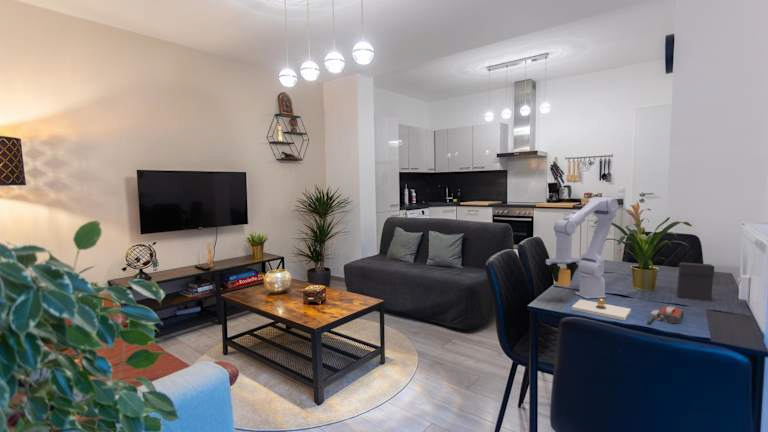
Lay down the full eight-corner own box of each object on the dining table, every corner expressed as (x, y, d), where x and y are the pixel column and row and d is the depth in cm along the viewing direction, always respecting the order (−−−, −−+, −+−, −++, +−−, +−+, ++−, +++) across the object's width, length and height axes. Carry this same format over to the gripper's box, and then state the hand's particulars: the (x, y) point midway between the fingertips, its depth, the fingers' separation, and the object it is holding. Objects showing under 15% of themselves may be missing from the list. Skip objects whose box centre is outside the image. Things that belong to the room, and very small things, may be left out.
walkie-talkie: (656, 310, 148) (644, 324, 134) (656, 299, 148) (645, 312, 134) (684, 316, 142) (675, 331, 128) (685, 305, 142) (676, 319, 128)
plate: (571, 309, 149) (571, 298, 149) (580, 302, 158) (580, 291, 158) (624, 320, 137) (625, 308, 137) (630, 311, 146) (631, 300, 146)
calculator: (708, 298, 161) (710, 264, 160) (711, 301, 157) (714, 266, 156) (676, 295, 166) (678, 261, 164) (679, 298, 162) (681, 263, 160)
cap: (564, 282, 162) (565, 267, 161) (572, 286, 156) (573, 270, 156) (552, 282, 161) (552, 268, 160) (560, 286, 156) (560, 271, 155)
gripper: (553, 251, 152) (552, 284, 154) (586, 249, 154) (584, 282, 156) (543, 248, 159) (542, 279, 161) (575, 246, 161) (573, 278, 163)
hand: (562, 280), depth 159 cm, fingers closed on cap, 6 cm apart
